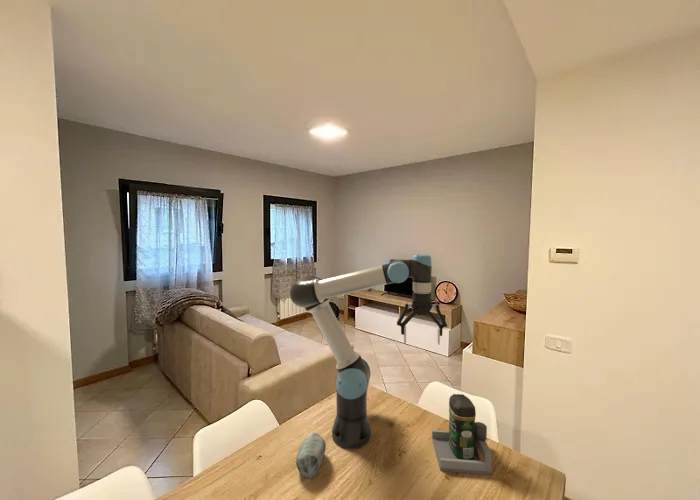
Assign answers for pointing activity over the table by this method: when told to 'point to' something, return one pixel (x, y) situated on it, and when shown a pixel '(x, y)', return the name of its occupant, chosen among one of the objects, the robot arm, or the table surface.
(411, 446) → the table surface
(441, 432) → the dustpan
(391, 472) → the table surface
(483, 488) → the table surface
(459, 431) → the coffee jar
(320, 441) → the spool
